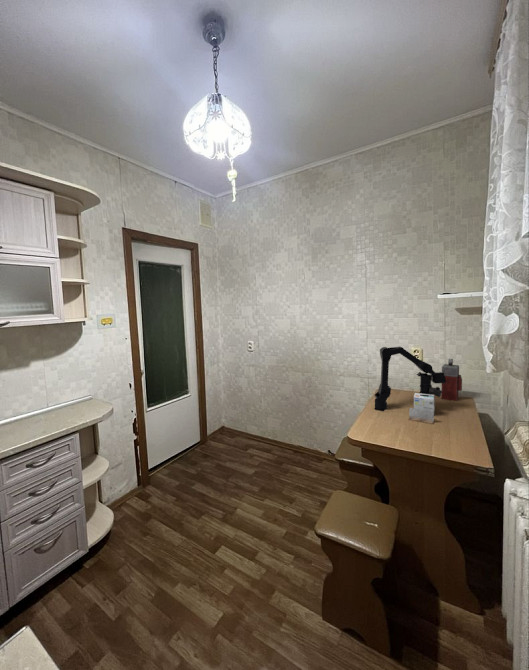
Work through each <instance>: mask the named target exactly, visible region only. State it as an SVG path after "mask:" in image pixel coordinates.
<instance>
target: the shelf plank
mask: <svg viewBox="0 0 529 670" xmlns="http://www.w3.org/2000/svg"><path fill="white" fill-rule="evenodd" d="M408 421H412V422H419V423H424V424H429V425H430V424H431V425H434V423H435V421H434V422H433V421H427V420H421V419H415V418H408Z"/></svg>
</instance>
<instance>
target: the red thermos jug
mask: <svg viewBox="0 0 529 670" xmlns="http://www.w3.org/2000/svg"><path fill="white" fill-rule="evenodd" d="M447 362H448V363H445V364H443V365H441V372H443V373H444V375H445V379H446V382H445V383H441V389H440V390H441V391H442V393H441V395H440V398H441V400H446V401H447V400H448V401H452V400H453V402H458V400H459V392H462V391H463V378H462V375H461V374H460V366H459V365H458V364H454V358H448V361H447Z"/></svg>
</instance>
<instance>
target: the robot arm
mask: <svg viewBox="0 0 529 670" xmlns="http://www.w3.org/2000/svg"><path fill="white" fill-rule="evenodd" d="M399 354H400V355H402V357H404V358H406V359H407V360H409V361H410V362H412V363H413V364H414V365H415V366H416V367H417V368H418V369H419V370H420V371H419V372H417V373H416V376H417V377H419V380H420V381H419V382H420V383H419V393H420V396H427V397H429V395H421V394H430V395H434V397H435V396H436V397H437V398H441V393H442V391H441V390H442V389H440V387H439V386H436V387H433V386H432V383H433V384H442V383H445V382H446V379H445V375H444V373H443V372H442V371H439V372H435V371H434V369H433V365H431V364H429V363H427V362H425V361H423V360H421V359H419V358H418V357H416V356H415V355H413V354H412V353H410V352H409V351H408V350H406V349H405V348H404V347H402V346H394V347H393V346H392V347H387V346H383V347H381V348H380V349H379V355H380V360H381V366H380V367H381V368H380V370H381V371H380V384H379V387H378V390H377V391H376V393H375V394H374V397H375V399H374V407H373V410H374V409H375V411H380V412H385V410H387V409H388V402H387V399H389V398H390V396H391V395H392V393H391V391H392V387H391V386H390V385H389V369H390V367H389V365H390V360H391V358H392V356H394V355H399ZM421 371H422V372H421Z"/></svg>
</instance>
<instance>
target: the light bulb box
mask: <svg viewBox="0 0 529 670" xmlns="http://www.w3.org/2000/svg"><path fill="white" fill-rule="evenodd" d="M420 394H421V395H429V397H427V396H420ZM435 407H436V404H435V395H433V394H431V395H430V394H422V393H420V392H414V395H413V408H415V409H421V410H428V411H434V412H435V409H436V408H435Z"/></svg>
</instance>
